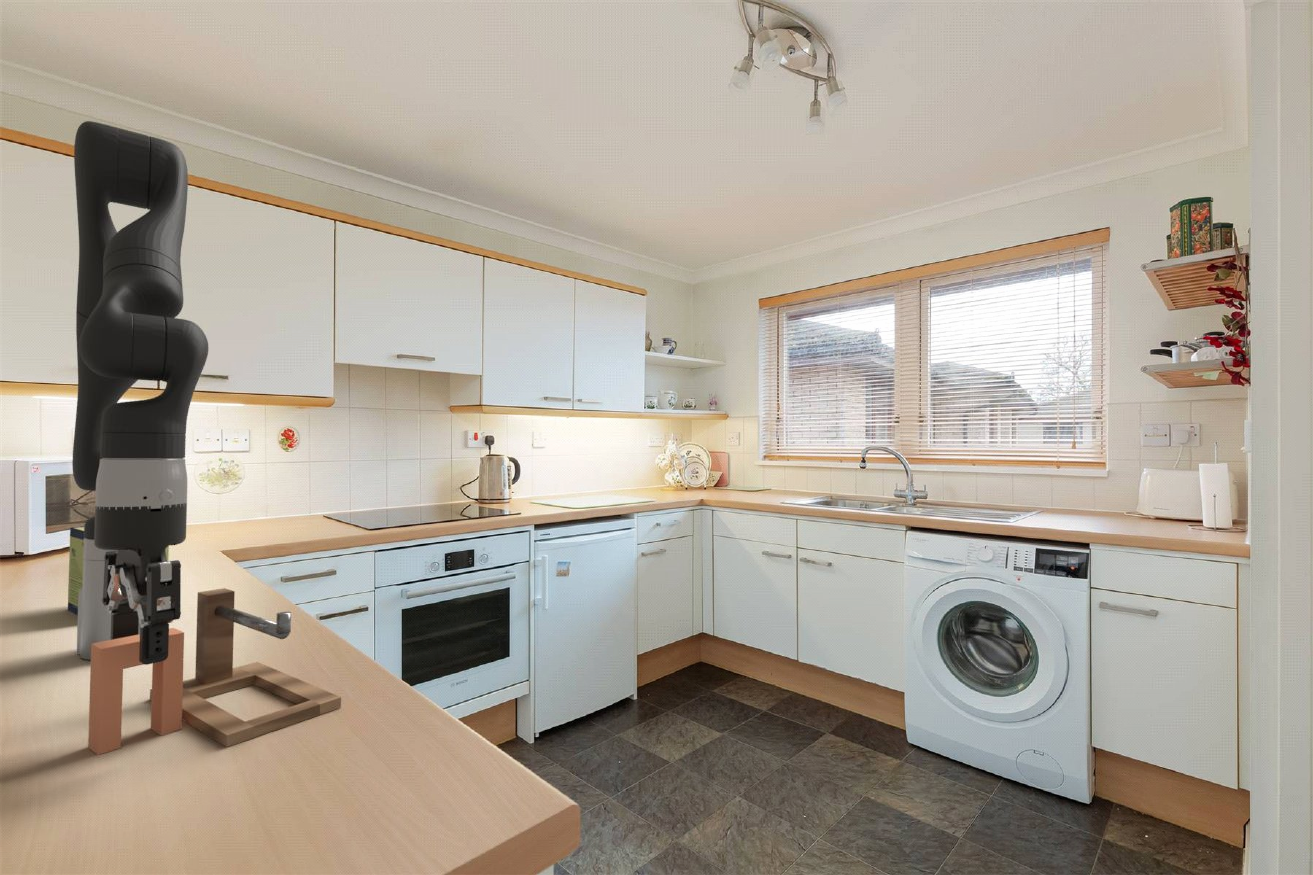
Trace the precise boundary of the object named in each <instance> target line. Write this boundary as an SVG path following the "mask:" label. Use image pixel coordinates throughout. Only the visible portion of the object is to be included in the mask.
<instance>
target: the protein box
mask: <svg viewBox="0 0 1313 875" xmlns="http://www.w3.org/2000/svg"><path fill="white" fill-rule="evenodd" d="M84 526H85V525H84ZM84 526H74V527H73V526H72V527H70V530H69V556H68V558H69V561H68V585H67V586H68V588H67V589H68V590H67V591H68V592H67V611H70V612H72V613H73V614H76V615H78V592H79V590H80V589H81V588H83V559H84V558H83V555H84V538H85V537H84ZM169 549H170V546H168V547H167V548H166V550H165V552H166V559H167V561H169V555H170V554H169V551H170V550H169Z"/></svg>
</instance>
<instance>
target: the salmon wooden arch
mask: <svg viewBox="0 0 1313 875" xmlns="http://www.w3.org/2000/svg"><path fill="white" fill-rule="evenodd" d="M139 648H140V634H139V635H134V636H128V637H123V638H118V639H113V640H108V641H102V642H97V643H92V644H91V660H90V673H89V674H90V676H89V679H90V680H89V704H88V706H89V707H88V711H89V712H88V737H87V738H88V739H87V740H88V741H87V744H88V746H87V747H88V748H89V749H90V750H92V752H94V753H95V754H96V755H98V756H99V755H100V756H101V755H102V754H106V753H108V752H112V751H115V750H118V749H121V748H122V725H123V724H122V720H123V718H122V716H123V690H124V689H123V685H124V670H125V669H129V668H134V667H138V666H142V665H143V666H144V665H145V664H142V663H141V662H140V661H139ZM184 649H185V632H184V631H182V630H179V629H177V628H175V627H169V645H168V657H167V659H166V660H164V661H161V662H157V663H152V669H151V670H152V675H151V677H152V678H151V689H152V700H151V703H150V704H151V708H150V709H151V710H150V729H152V730H153V731H154V732H156V733H157V734H158V735H160V736H163V735H168V734H171V733H174V732H177V731H179V730H182V727H183V724H182V723H183V720H182V694H183V681H184V654H185V653H184V652H185V651H184Z"/></svg>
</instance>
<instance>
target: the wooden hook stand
mask: <svg viewBox="0 0 1313 875" xmlns="http://www.w3.org/2000/svg"><path fill="white" fill-rule="evenodd" d="M196 603H197V604H196V637H195V638H196V639H195V640H196V641H195V642H196V643H195V644H196V645H195V677H194V678H190V679H185V680H183V694H182V721H184V722H186V723H187V724H189V725H190V726H192V727H194V728H195V729H197V730H199V731H200V732H202V733H203V734H205V735H207V736H208V737H210V738H212V739H213V740H214V741H216V742H217V743H220V744H221V745H223V746H224V747H226V748H228V747H230V746H234V745H237V744H239V743H242V742H245V741H248V740H251V739H254V738H257V737H260V736H264V735H265V734H269V733H271V732H274V731H277V730H280V729H282V728H286V727H288V726H291V725H292V726H293V725H294V724H297V723H301V722H303V721H306V720H309V719H312V718H314V717H317V716H320V715H323V714H326V713H329V712H332V711H335V710H337V709H340V708H342V697H341V696H340V695H337V694H335V693H332V692H330V691H328V690H325V689H324V688H320V687H318V686H315V685H313V684H311V683H309V682H306V681H304V680H301V679H299V678H297V677H294V676H291V675H290V674H287V673H284V672H282V671H281V670H278V669H275V668H273V667H271V666H269V665H266V664H263V663H262V662H259V661H257V662H256V661H255V662H252V663H248V664H245V665H241V666H236V667H234V666H233V665H234V664H233V663H234V633H235V631H234V630H235V629H234V627H235V624H234V623H235V622H232V621H229V620H227V619H224V618H221V617H218V616H216V615H215V609H216V608H217V607H218V606H220V605H224V606H227V607H230V608H233V609H235V591H234V590H231V589H228V588H225V587H224V588H216V589H212V590H205V591H198V592H197V602H196ZM253 685H255V686H257V687H259V688H262V689H264V690H266V691H269V692H270V693H272V694H275V695H276V696H278V697H281V698H283V699H286V700H288V701H289V702H291V703H293V704H295V705H292V706H289V707H285V708H283V709H279V710H276V711H273V712H270V713H267V714H264V715H261V716H258V717H254V718H252V719H249V720H243V719H241V718H239V717H237V716H236V715H234V714H232V713H230V712H228V711H226V710H224V709H223V708H221V707H219V706H217V705H216V704H214V703H212V702H210V701H209V700H207V698H211V697H214V696H218V695H222V694H225V693H228V692H232V691H235V690H238V689H243V688H246V687H250V686H253ZM149 700H150V701H152V688H151V689H149Z"/></svg>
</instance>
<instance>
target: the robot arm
mask: <svg viewBox="0 0 1313 875" xmlns="http://www.w3.org/2000/svg"><path fill="white" fill-rule="evenodd" d="M73 147H74V148H73V154H74V155H73V156H74V159H73V161H74V178H75V179H74V180H75V183H74V184H75V194H76V195H75V196H76V212H77V226H78V227H77V228H78V271H77V290H76V312H75V313H76V314H75V315H76V316H75V317H76V325H75V331H76V332H75V333H76V358H77V401H76V412H75V426H74V435H73V447H72V463H71V464H72V475H73V479H74V482H75V483H76V486H77V487H79V488H80V489H81V490H84V491H89V492H90V491H92V492H93V491H94V492H95V503H94V504H95V505H94V506H95V507H94V516H91V517H89V518H87V520H85V523H84V537H85V538H84V555H83V558H84V559H83V588H81V589H80V590H79V592H78V614H77V629H76V630H77V632H76V654H78V655H79V654H80V655H79V656H80V658H81V659H83V660H89V661H91V644H92V643H97V642H102V641H108V640H113V639H118V638H123V637H128V636H134V635H139V634H140V648H139V661H140V662H141V663H142V664H144V665H151V664H152V665H153V663H157V662H161V661H164V660H166V659H167V657H168V645H169V629H170V624H172V623H173V621H176V620H179V619H180V618H181V615H182V610H181V609H182V608H181V588H182V587H181V583H182V582H181V581H182V580H181V579H182V578H181V570H182V569H181V568H182V567H181V566H182V565H181V562H180V560H179V559H176V560H168V561H167V559H166V552H165V550H166V548H167V547H168V546H169V547H170V546H177V545H181V544H182V543H184V542H185V541H186V538H187V516H188V514H187V512H188V511H187V509H188V473H187V468H186V467H187V466H186V459H185V458H186V441H187V440H186V439H187V437H186V436H187V435H186V434H187V420H188V415H189V410H190V405H191V401H192V399H193V396H194V392H195V389H196V387H197V385H198V382H199V379H200V378H201V375H202V373H203V370H204V368H205V365H206V361H207V359H208V355H209V340H208V338H207V336H206V334H205V332H204V330H203V329H202V328H201V326H199V325H198V324H197V323H195V322H194V321H191V320H188V319H185V318H177V317H178V316H179V315H180V313H181V312H182V309H183V307H184V289H183V279H182V277H183V276H182V268H181V267H182V265H181V256H182V245H183V239H184V233H185V226H186V225H185V223H186V216H187V205H188V203H187V202H188V187H189V184H188V183H189V175H188V174H189V173H188V165H187V160H186V157H185V154H184V153H183V151H182V150H181V149H180V147H179V146H177V145H176V144H174V143H172V142H169V141H168V140H164V139H162V138H158V137H155V136H152V135H150V136H149V135H147V134H143V133H139V132H134V131H132V130H128V129H124V128H121V127H117V126H113V125H109V124H105V123H101V122H97V121H92V120H87V121H84V122H82V123H81V124H80V125H79V126H78V127H77V130H76V133H75V139H74V146H73ZM109 203H113V204H114V203H115V204H119V205H124V206H130V207H134V208H139V209H142V210H143V209H144V210H147V212H146V213H144V214H143V215H142V216H140V217H138V218H136V219H135V220H134V221H132V222H130V223H129V224H126V226H124V227H122V228H121V229H119V230H118V231H117V229H116V226H115V224H114V221H113V219H112V216H111V213H110V211H109ZM137 381H151V382H152V381H153V382H165V383H166V386H165V388H164V390H162V392H161V393H160V394H159V395H158V396H154V397H151V398H147V399H139V400H132V401H131V400H130V401H129V400H128V401H122V402H121V401H120V400H121V398H122V397H123V396H124V395H125V393H127V392H128V390H129V389H130V388H131V387H132V386H133V385H134V384H136V383H137ZM119 401H120V402H119Z"/></svg>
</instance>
